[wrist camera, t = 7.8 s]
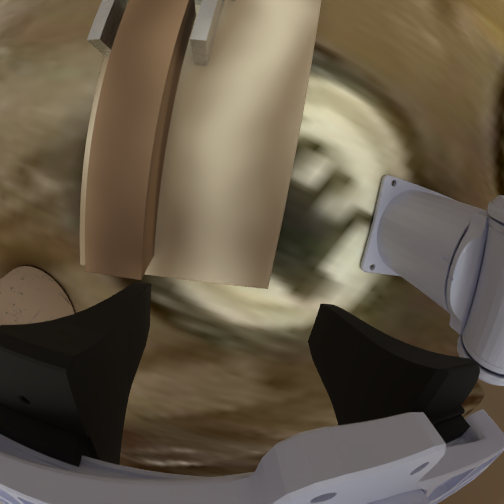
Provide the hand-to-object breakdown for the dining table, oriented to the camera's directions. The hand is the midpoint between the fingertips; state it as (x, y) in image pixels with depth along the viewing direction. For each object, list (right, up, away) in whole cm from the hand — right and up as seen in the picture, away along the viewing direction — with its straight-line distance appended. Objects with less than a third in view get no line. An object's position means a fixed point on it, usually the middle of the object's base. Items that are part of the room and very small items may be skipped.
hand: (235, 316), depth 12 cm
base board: (-3, +12, +5) cm, 14 cm away
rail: (-6, +11, +4) cm, 13 cm away
